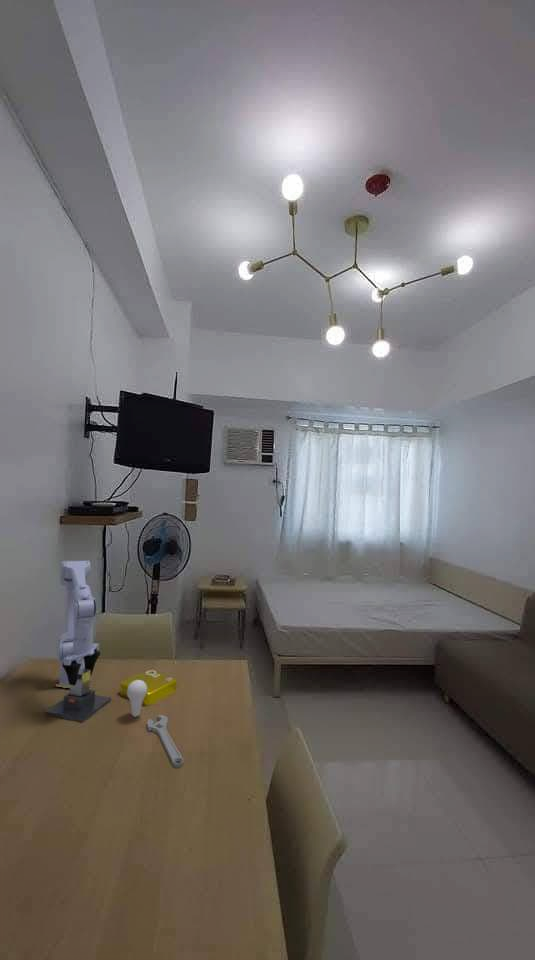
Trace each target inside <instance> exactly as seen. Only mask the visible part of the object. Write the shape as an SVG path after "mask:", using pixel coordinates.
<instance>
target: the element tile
mask: <svg viewBox="0 0 535 960" xmlns="http://www.w3.org/2000/svg"><path fill="white" fill-rule="evenodd" d="M135 680H142V681H144V682H145V684H146V686H147V693H146V695H145V697H144V699H143V701H142V705H141V706H151V705H154V704H155V703H157V702H159V701H161V700H162V699H165V698H166V697H169V696H170V694H171V695H173V694H174V693H176V692H177V691H178V679H177V678H176V677H174V676H171V675H168V674H165V673H164V672H160V671H157V670H155V669H147V670H145V671H143V672H140V673H137V674H136V675H133V676H131V677H129V678H126V679H124V680H122V681H121V682H120V687H119V688H120V690H119V695H120V696H121V695H122V697H123V696H124V697H123V698H126V699H128V696H127V688H128V686H129V685H130V683H131V682H133V681H135ZM168 695H169V696H168Z"/></svg>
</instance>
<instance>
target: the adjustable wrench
mask: <svg viewBox="0 0 535 960" xmlns="http://www.w3.org/2000/svg"><path fill="white" fill-rule="evenodd" d="M156 720H158V721H156V722H155V721H154V720H152V719H151V718H148V719H147V724H146V727H147V732H152V733H155V734H157V735H158V737H159V738H160V742H162V745H163V747H164V749H165V752H166V754H167V756H168V758H169V760H170V762H171V765H172V766H173V767H174V768H177V769H178V768H181V767H183V765H184V758H183V757H182V754H181V753H180V751H179V749H178V747H177V746H176V745H175V742H174V741H173V739H172V737H171V735H170V733H169V732H168V730H167V726H168V725H169V718H168V717H167V716H166V715H163V714H157V716H156Z"/></svg>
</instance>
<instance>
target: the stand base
mask: <svg viewBox="0 0 535 960" xmlns="http://www.w3.org/2000/svg"><path fill="white" fill-rule="evenodd" d="M110 702H112V697H108V696H102V695H99V694H98V695H97V694H96V690H94V689H90V688H89V692H88V693H86V694H85V695H84V697H82V698H78V697H72V696H70V692H69V693H67V694H64V696H63V699H61V700H60V701H58V702H57V703H55V704H53V705H52V706H51V707H49V708H47V709H46V710H45V711H44V713H43V715H44V714H47V715H46V716H48V715H51V716H50V717H53V716H56V717H55V718H58V717H60V718H59V719H65V720H69V721H74V722H78V723H79V722H80V723H84V722H86V721H87V720H88V719H89V718H91V717H92V716H93V715H95V714H96V713H98V712H99V711H100V710H101V709H103V708H104V707H105V706H106V705H108V704H109V703H110Z"/></svg>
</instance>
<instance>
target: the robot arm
mask: <svg viewBox="0 0 535 960" xmlns="http://www.w3.org/2000/svg"><path fill="white" fill-rule="evenodd" d="M59 569H60V570H59V577H60V578H59V581H60V585H62V586H65V590H66V613H65V614H66V617H65V618H66V620H65V621H66V622H65V625H66V626H65V627H66V628H65V632H63V633H62V634H61V635H59V637H58V639H57V644H56V658H57V660H58V661H60V669H59V672H60V673H59V682H60V684H62V685H66V686H71V685H76V682H77V676H78V671H79V669H80V668H82V669H88V670H90V676H92V675H93V672H94V669H95V665H96V662H97V660H98V659H99V657H100V656H101V652H100V651H98V650H99V649H100V648H99V647H100V644H99V643H98V642H97V643H96V642H94V643H93V637H94V634H93V633H94V618H95V617H96V615H97V611H98V610H97V609H98V608H97V607H98V606H97V600H96V598H95V597H94V596H93V595H92V591H91V587H90V586H89V585H88V584H87V581H88V579H89V576H90V574H91V562H90V560H88V559H86V560H68V561H64V560H62V562H60V567H59Z"/></svg>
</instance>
